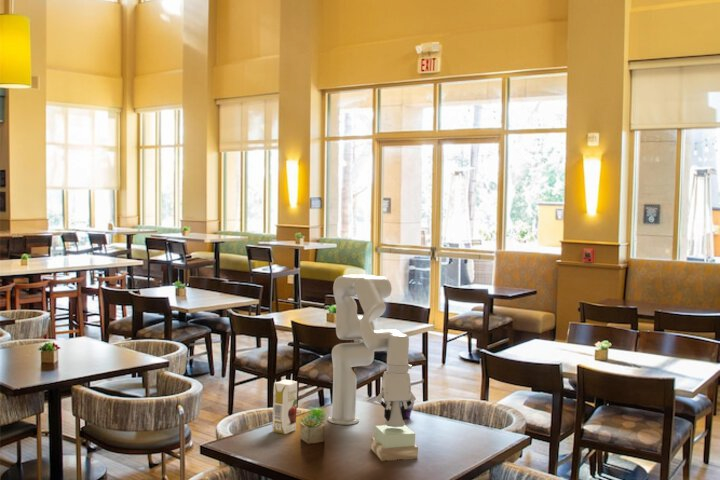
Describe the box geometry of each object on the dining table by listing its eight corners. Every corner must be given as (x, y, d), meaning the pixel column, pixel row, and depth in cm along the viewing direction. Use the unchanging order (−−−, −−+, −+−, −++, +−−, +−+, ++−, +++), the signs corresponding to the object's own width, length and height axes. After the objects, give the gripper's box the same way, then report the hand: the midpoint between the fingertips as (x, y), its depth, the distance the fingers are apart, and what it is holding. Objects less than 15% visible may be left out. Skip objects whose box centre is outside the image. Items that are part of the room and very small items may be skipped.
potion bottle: (403, 413, 312) (404, 385, 312) (418, 418, 306) (419, 389, 305) (388, 416, 307) (389, 388, 306) (402, 421, 300) (403, 392, 300)
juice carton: (269, 432, 280) (271, 382, 279) (282, 426, 287) (283, 378, 287) (286, 435, 276) (287, 385, 275) (298, 429, 284) (300, 381, 283)
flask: (405, 428, 256) (406, 399, 255) (384, 427, 256) (385, 399, 256) (404, 422, 263) (405, 394, 263) (384, 421, 263) (385, 393, 263)
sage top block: (374, 438, 263) (375, 425, 263) (403, 436, 266) (403, 424, 266) (385, 448, 252) (385, 435, 252) (414, 446, 256) (415, 433, 256)
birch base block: (371, 449, 264) (371, 437, 264) (405, 447, 268) (405, 435, 268) (381, 461, 252) (382, 448, 252) (417, 459, 255) (418, 447, 255)
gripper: (416, 365, 265) (414, 415, 265) (371, 366, 260) (369, 417, 261) (423, 370, 257) (421, 421, 258) (377, 371, 253) (375, 423, 254)
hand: (395, 419), depth 260 cm, fingers open, 4 cm apart
